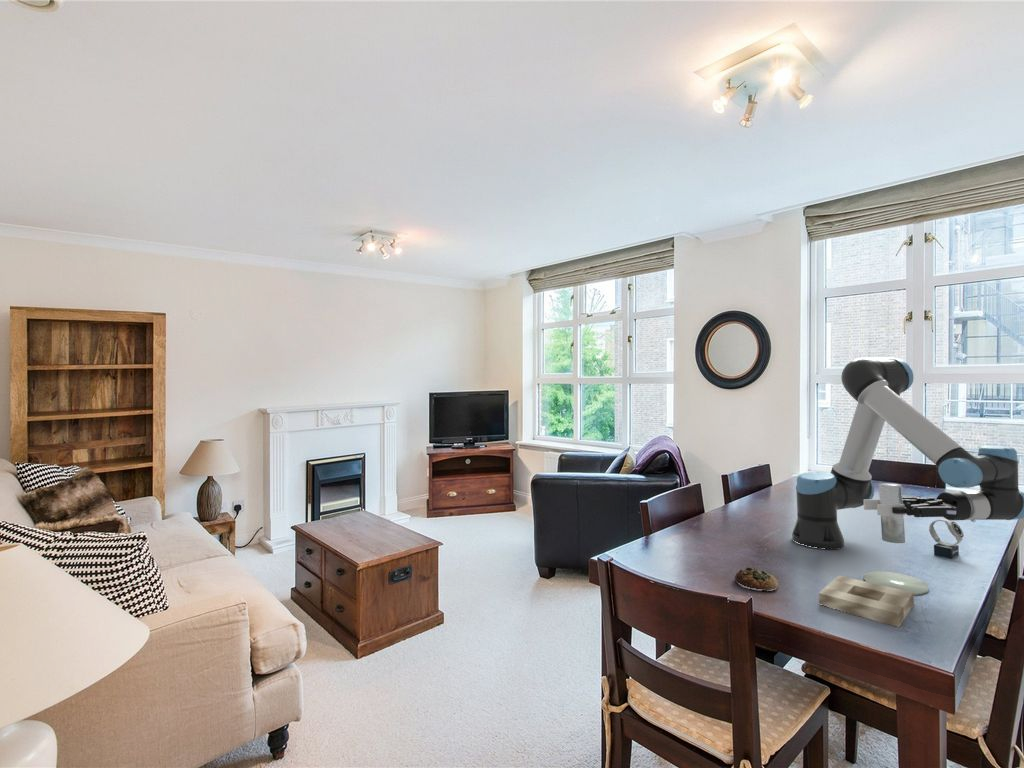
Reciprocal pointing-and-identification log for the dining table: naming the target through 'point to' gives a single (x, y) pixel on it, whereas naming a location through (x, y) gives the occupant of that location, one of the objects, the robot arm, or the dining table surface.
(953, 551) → the watch
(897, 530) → the canister
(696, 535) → the dining table surface
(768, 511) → the dining table surface
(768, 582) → the bread roll
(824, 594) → the holder block
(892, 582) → the coaster
